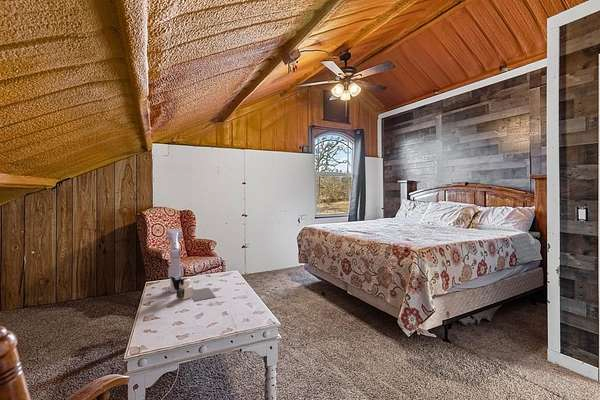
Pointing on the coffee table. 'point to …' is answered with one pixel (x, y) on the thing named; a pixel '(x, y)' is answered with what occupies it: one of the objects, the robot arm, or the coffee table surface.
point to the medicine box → (184, 289)
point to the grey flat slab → (202, 294)
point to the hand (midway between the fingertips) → (176, 288)
